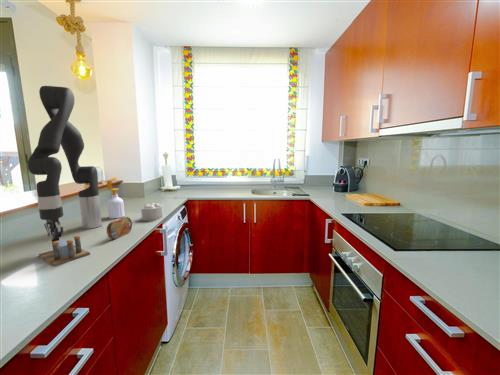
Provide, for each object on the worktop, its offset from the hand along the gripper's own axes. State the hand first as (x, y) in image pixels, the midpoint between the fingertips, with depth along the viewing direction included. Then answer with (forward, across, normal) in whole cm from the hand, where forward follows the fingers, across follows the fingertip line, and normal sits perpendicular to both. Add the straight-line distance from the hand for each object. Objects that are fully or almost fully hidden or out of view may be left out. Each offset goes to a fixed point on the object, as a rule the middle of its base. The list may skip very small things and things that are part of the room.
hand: (56, 246), depth 105 cm
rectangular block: (+1, +7, 0) cm, 7 cm away
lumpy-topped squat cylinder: (+3, -12, +54) cm, 56 cm away
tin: (+2, +3, +25) cm, 26 cm away
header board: (+2, +7, 0) cm, 7 cm away
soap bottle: (+3, -33, +43) cm, 54 cm away
